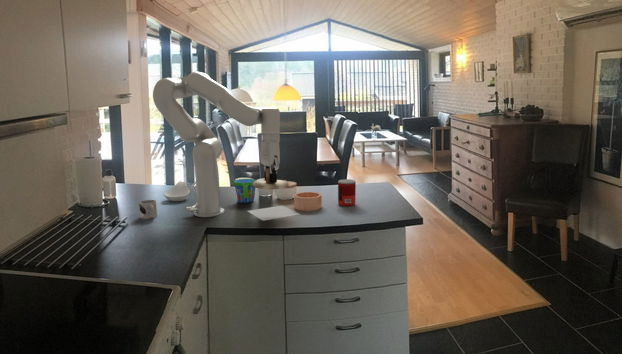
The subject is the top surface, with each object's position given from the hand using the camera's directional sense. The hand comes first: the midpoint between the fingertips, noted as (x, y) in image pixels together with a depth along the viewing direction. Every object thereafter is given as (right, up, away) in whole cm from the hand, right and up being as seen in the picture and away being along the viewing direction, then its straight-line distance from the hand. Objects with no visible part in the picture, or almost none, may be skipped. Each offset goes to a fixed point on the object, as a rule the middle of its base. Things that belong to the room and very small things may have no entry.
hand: (270, 181), depth 182 cm
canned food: (+33, -11, +16) cm, 39 cm away
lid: (0, -2, 0) cm, 2 cm away
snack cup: (-14, -10, +24) cm, 29 cm away
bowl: (+16, -12, +11) cm, 23 cm away
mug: (-50, -16, -1) cm, 52 cm away
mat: (+1, -14, +3) cm, 14 cm away
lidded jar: (+5, -9, +27) cm, 29 cm away
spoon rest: (-48, -9, +35) cm, 60 cm away
